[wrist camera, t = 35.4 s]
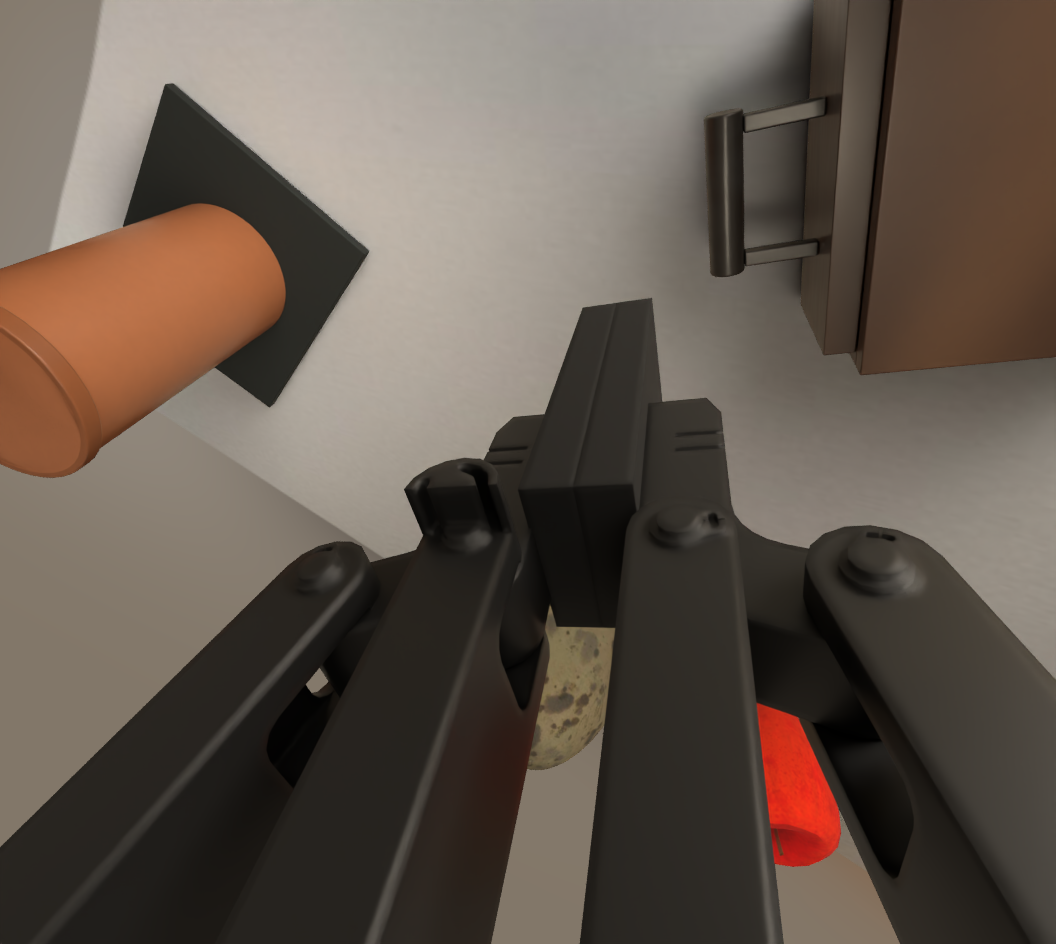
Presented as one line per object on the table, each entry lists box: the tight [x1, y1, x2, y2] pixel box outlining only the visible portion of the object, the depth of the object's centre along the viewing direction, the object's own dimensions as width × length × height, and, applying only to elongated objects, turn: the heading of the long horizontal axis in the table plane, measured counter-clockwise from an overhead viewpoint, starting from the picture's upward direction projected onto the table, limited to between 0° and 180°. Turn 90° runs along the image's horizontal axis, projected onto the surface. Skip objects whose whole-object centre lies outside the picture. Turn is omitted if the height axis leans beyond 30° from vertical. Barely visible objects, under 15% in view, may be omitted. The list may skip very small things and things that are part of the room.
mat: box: [123, 84, 369, 407], centre depth 34 cm, size 14×12×1 cm
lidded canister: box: [0, 203, 286, 478], centre depth 28 cm, size 8×8×15 cm
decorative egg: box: [527, 605, 615, 770], centre depth 38 cm, size 11×11×15 cm
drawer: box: [704, 0, 894, 355], centre depth 21 cm, size 20×12×6 cm, turn 103°
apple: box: [757, 703, 841, 867], centre depth 45 cm, size 9×9×11 cm
